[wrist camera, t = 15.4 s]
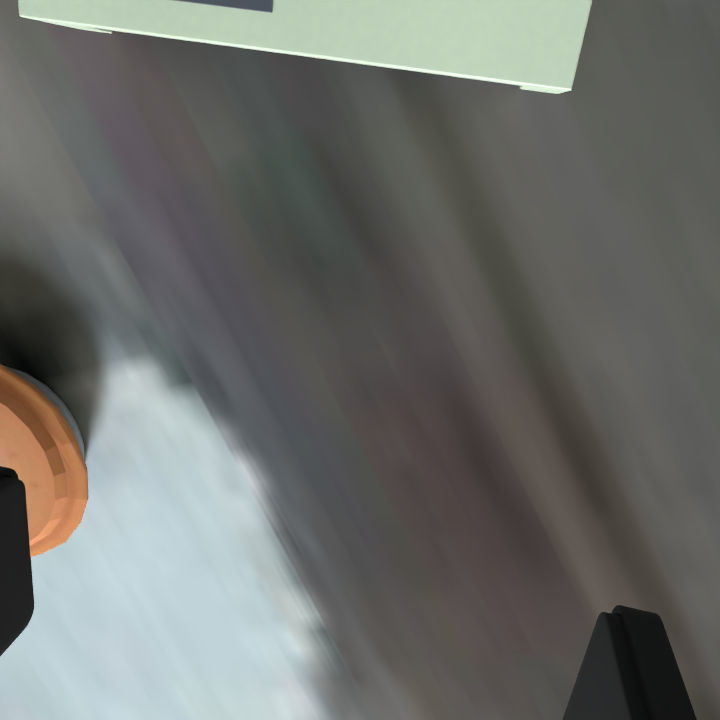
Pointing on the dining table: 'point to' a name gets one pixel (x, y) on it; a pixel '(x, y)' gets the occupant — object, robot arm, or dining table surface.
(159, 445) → the dining table surface
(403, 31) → the shelf
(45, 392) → the pie
